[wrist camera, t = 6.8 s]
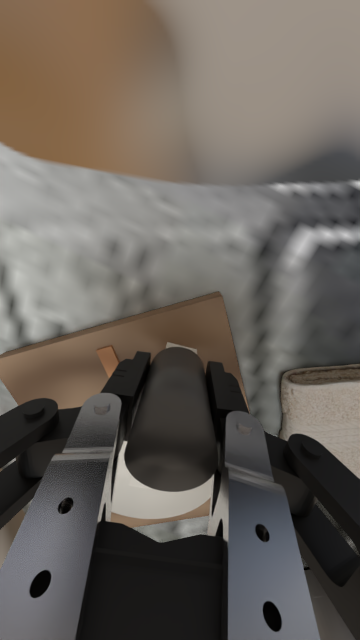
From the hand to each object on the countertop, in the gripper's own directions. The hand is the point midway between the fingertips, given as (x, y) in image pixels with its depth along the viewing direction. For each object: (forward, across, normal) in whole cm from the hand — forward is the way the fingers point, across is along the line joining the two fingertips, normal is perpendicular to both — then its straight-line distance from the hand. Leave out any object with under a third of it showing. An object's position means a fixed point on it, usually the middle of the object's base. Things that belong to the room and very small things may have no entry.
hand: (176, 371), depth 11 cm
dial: (+3, +1, +7) cm, 8 cm away
